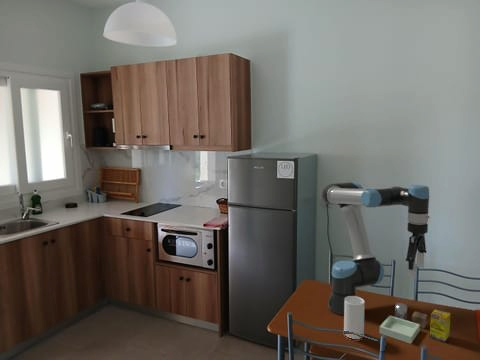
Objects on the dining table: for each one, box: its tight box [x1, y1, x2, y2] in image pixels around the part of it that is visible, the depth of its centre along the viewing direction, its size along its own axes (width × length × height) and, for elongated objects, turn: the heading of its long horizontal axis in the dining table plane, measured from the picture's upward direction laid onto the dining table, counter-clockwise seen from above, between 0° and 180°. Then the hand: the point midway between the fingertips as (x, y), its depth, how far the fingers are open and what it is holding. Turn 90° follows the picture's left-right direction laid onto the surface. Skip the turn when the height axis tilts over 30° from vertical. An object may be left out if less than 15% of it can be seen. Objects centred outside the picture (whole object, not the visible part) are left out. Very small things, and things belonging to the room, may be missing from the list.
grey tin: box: [394, 302, 408, 321], centre depth 168 cm, size 5×5×7 cm
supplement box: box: [429, 308, 451, 343], centre depth 152 cm, size 6×6×11 cm
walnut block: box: [411, 311, 428, 330], centre depth 162 cm, size 5×5×5 cm
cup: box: [343, 295, 365, 339], centre depth 155 cm, size 8×8×16 cm
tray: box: [379, 315, 421, 345], centre depth 157 cm, size 13×13×3 cm
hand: (415, 271), depth 151 cm, fingers open, 13 cm apart
